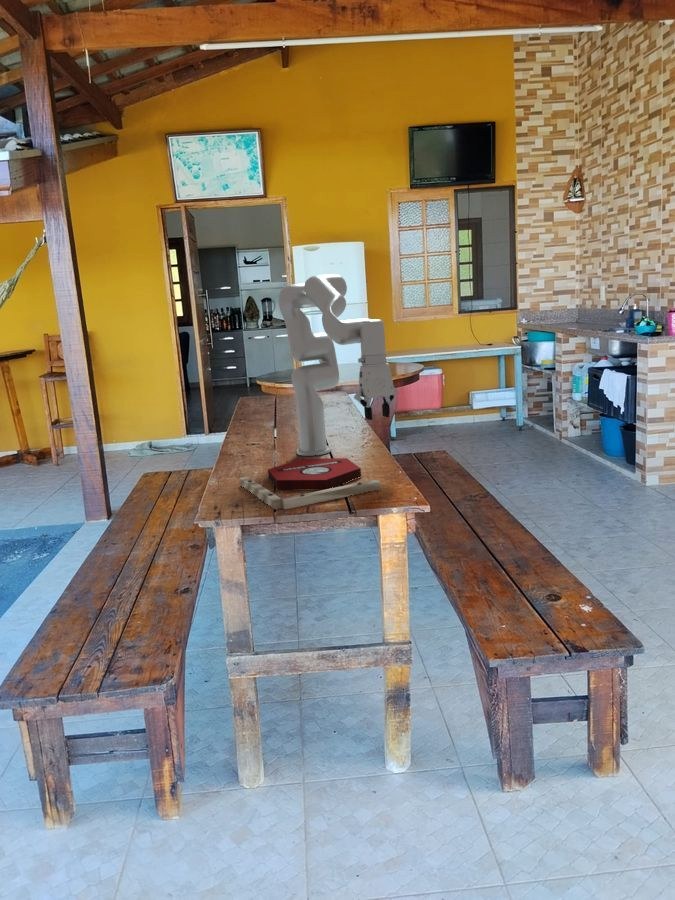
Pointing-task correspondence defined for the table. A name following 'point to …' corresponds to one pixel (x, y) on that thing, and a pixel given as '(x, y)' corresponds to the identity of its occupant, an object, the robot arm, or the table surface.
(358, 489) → the corner rail
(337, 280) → the robot arm
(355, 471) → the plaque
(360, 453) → the table surface
